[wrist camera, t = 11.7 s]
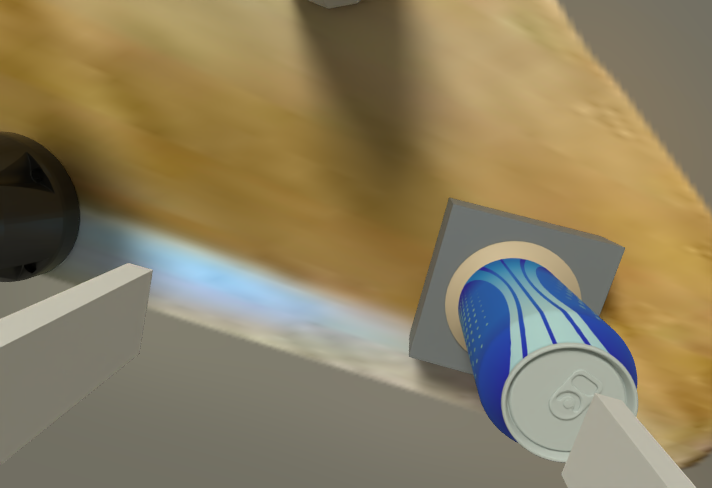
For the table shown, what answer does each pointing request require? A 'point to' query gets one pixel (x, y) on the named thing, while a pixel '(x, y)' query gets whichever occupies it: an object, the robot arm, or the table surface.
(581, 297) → the riser
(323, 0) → the jar
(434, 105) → the table surface
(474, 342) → the beer can
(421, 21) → the table surface
